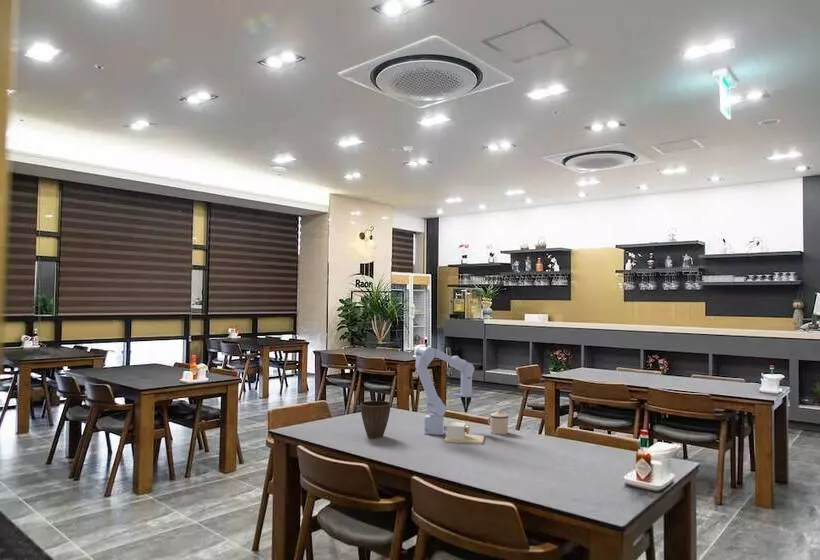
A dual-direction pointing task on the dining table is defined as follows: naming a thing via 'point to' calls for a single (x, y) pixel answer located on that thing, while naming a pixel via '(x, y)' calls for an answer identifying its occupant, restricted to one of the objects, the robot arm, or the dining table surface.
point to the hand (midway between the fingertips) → (465, 412)
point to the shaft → (466, 429)
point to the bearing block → (461, 434)
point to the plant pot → (375, 417)
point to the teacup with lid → (498, 423)
